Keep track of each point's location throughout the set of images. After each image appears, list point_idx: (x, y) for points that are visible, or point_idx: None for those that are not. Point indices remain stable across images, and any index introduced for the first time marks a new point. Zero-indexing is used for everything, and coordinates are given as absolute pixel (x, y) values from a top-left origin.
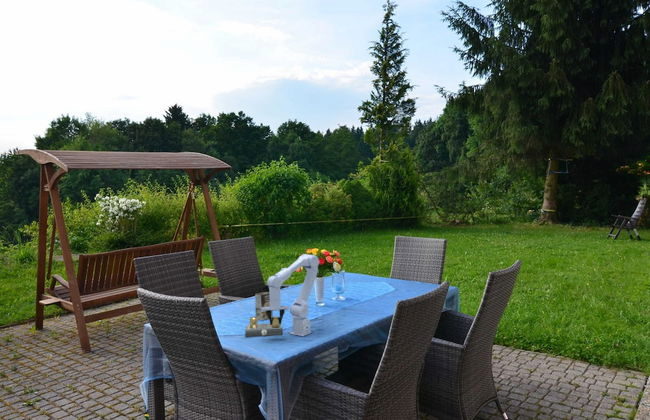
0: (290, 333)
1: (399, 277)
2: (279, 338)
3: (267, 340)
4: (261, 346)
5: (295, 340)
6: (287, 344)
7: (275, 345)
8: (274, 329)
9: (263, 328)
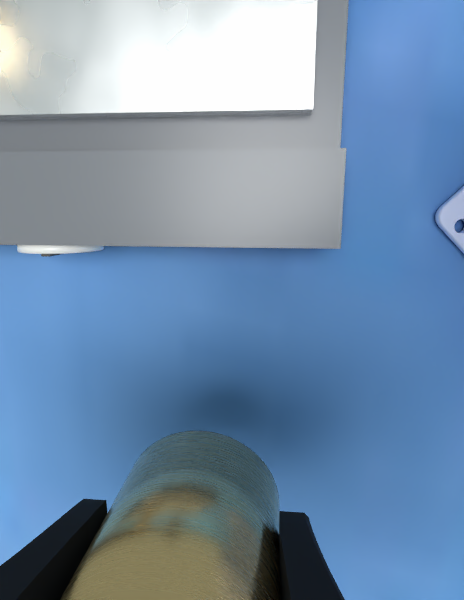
0: (446, 233)
1: None
2: (271, 377)
3: (129, 415)
4: None
5: (452, 497)
6: None
7: None
8: (205, 246)
9: (24, 179)
